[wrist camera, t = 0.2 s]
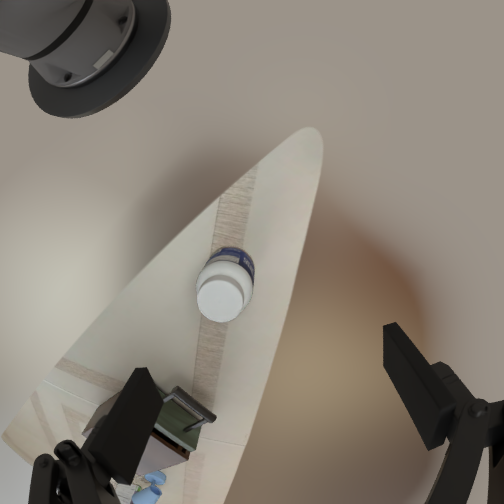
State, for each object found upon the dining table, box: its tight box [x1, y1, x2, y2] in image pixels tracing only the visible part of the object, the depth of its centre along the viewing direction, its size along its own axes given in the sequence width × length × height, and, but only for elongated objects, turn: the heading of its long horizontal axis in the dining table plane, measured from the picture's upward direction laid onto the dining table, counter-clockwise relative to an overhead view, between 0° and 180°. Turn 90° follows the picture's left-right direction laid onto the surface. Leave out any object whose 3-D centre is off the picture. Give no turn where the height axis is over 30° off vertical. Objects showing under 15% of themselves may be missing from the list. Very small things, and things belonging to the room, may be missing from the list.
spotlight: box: [132, 471, 166, 504], centre depth 42 cm, size 5×10×7 cm
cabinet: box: [82, 390, 190, 476], centre depth 38 cm, size 14×13×8 cm
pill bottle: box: [196, 246, 255, 322], centre depth 29 cm, size 5×5×10 cm
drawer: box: [152, 386, 217, 452], centre depth 37 cm, size 19×11×6 cm, turn 131°
